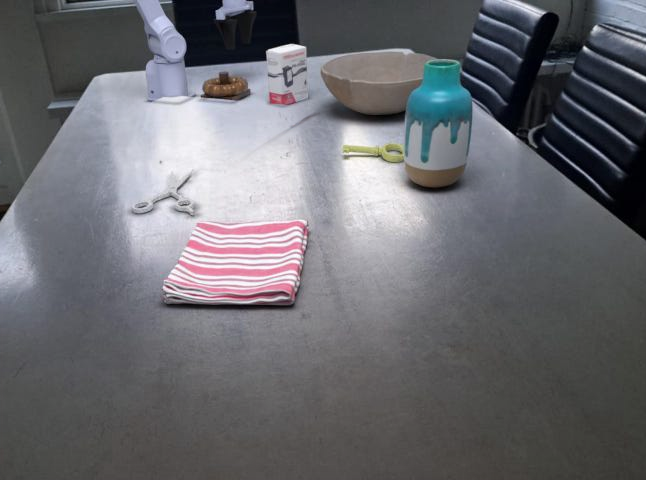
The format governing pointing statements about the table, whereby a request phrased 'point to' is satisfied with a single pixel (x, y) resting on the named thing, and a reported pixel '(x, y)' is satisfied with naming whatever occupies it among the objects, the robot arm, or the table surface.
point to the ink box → (287, 74)
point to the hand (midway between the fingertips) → (238, 46)
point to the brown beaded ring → (225, 87)
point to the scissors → (169, 191)
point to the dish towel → (239, 264)
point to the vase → (438, 126)
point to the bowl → (375, 80)
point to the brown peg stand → (225, 81)
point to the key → (378, 151)
